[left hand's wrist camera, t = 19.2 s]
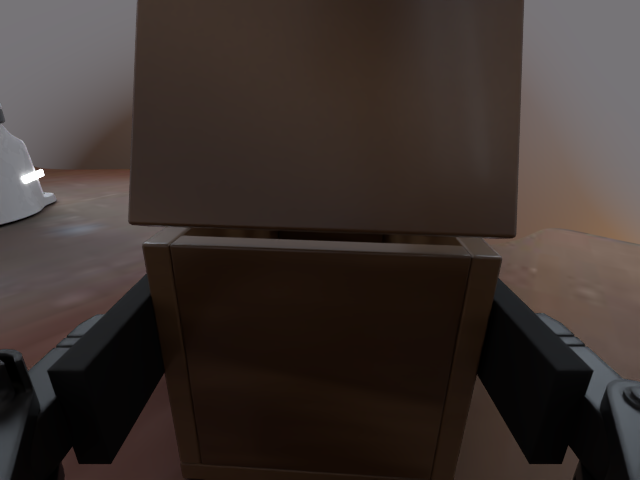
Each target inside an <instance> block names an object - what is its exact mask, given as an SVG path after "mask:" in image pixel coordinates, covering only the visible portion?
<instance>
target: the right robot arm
mask: <svg viewBox="0 0 640 480" xmlns="http://www.w3.org/2000/svg"><path fill="white" fill-rule="evenodd" d="M4 122H5V119H4V115H3V112H2V106H1V103H0V224H4V223H8V222H12V221H15V220H19V219H22V218H25V217H28V216H30V215H33V214H35V213H37V212H39V211H40V210H42V209H43V207H44V206H46V205H48V204H50V203H53V202H55V201H57V200H56V197H55V195H54V194H53V193H45V192H43V191H42V188H41V185H40V182H39V180H38V178H40V177H42V176H44V173H43V170H38V171H36V172H35V169H34V166H33V164H32V161H31V158H30V156H29V153H28V150H27V148H26V145H25V143H24V142H23V141H22V140H20V139H19V138H17V137H15V136H13V135H12V134H11V133H9V132H8V131H7V130H6V129H5V127H4V126H3V125H2V123H4Z"/></svg>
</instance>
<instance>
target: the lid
mask: <svg viewBox="0 0 640 480" xmlns="http://www.w3.org/2000/svg"><path fill="white" fill-rule="evenodd" d="M523 16H524V0H137V15H136V40H135V65H134V89H133V115H132V139H131V164H130V189H129V214H128V222H129V224H131V225H139V226H153V227H182V228H210V229H238V230H266V231H294V232H322V233H350V234H378V235H407V236H435V237H463V238H492V239H507V238H514V237H515V236H516V224H517V194H518V164H519V135H520V105H521V75H522V45H523Z"/></svg>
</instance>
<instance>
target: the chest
mask: <svg viewBox="0 0 640 480" xmlns="http://www.w3.org/2000/svg"><path fill="white" fill-rule="evenodd" d="M142 248H143V254H144V260H145V265H146V271H147V276H148V282H149V288H150V293H151V299H152V304H153V310H154V316H155V321H156V327H157V333H158V338H159V343H160V349H161V354H162V359H163V364H164V369H165V377H166V383H167V389H168V394H169V400H170V405H171V411H172V417H173V422H174V428H175V433H176V439H177V445H178V450H179V456H180V461H181V470H182V475H183V478H189V479H203V480H453V479H454V474H455V470H456V465H457V461H458V456H459V452H460V447H461V443H462V438H463V434H464V429H465V425H466V420H467V416H468V411H469V407H470V402H471V398H472V393H473V389H474V384H475V380H476V375H477V371H478V366H479V362H480V357H481V353H482V348H483V344H484V339H485V335H486V330H487V326H488V321H489V317H490V312H491V308H492V303H493V299H494V294H495V290H496V285H497V281H498V276H499V272H500V267H501V263H502V257H501V256H500V255H499V254H498V253H497V252H496V251H495V250H494V249H493V248H492V247H491V246H490V245H489V244H488V243H486V242H485V241H484V240H483V239H482V238H463V237H435V236H407V235H378V234H350V233H322V232H294V231H266V230H238V229H210V228H182V227H166V228H164V229H163V230H161V231H160V232H159V233H157V234H156V235H154V236H153V237H151V238H150V239H149V240H147V241H146V242H144V243H143V245H142Z"/></svg>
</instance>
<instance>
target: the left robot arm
mask: <svg viewBox="0 0 640 480" xmlns="http://www.w3.org/2000/svg"><path fill="white" fill-rule="evenodd" d="M164 372H165V369H164V364H163V359H162V354H161V349H160V343H159V338H158V333H157V327H156V321H155V316H154V310H153V304H152V299H151V293H150V288H149V282H148V276H147V274H146V275H145V276H144V277H143V278H142V279H141V280H140V281H139V282H138V283H136V284H135V285H134V286H133V287H132V288H131V289H130V290H129V291H128V292H127V293H126V294H125V295H124V296H123V297H122V298H121V299H120V300H119V301H118V302H117V303H116V304H115V305H114V306H113V307H112V308H111V309H110V310H109V311H108V312H107V313H106V314H97V315H95V316H94V317H92V318H90V319H88V320H86V321H85V322H83V323H81V324H79V325H78V326H77V327H76V328H75V329H74V330H73V331H72V332H71V333H70V334H68V335H67V338H64V339H63V340H62V341H61V342H60V343H59V344H57V345H56V348H53V349H52V350H51V351H50V352H49V353H48V354H46V355H45V356H44V357H43V358H42V359H41V360H40V361H39V362H38V363H37V364H36V365H34V366H33V367H32V368H31V369H30V370H29V371H28V370H27V368H26V365H25V362H24V359H23V357H22V354H21V353H20V352H18V351H16V350H9V349H2V350H0V480H64V477H65V475H64V469H63V466H62V463H61V461H62V460H63V459H64V457H65V456H66V454H67V453H68V452H69V450H70V449H71V448H72V446H73V448H74V451H75V454H76V457H77V460H78V463H79V464H111V463H112V461H113V460H114V458H115V456H116V455H117V453H118V451H119V449H120V448H121V446H122V444H123V443H124V441H125V439H126V437H127V436H128V434H129V432H130V431H131V429H132V427H133V425H134V424H135V422H136V420H137V419H138V417H139V415H140V413H141V412H142V410H143V408H144V406H145V405H146V403H147V401H148V400H149V398H150V396H151V394H152V393H153V391H154V389H155V388H156V386H157V384H158V382H159V381H160V379H161V377H162V376H163V374H164ZM477 375H478V376H479V378H480V380H481V382H482V383H483V385H484V387H485V388H486V390H487V392H488V394H489V395H490V397H491V399H492V400H493V402H494V404H495V406H496V407H497V409H498V411H499V412H500V414H501V416H502V418H503V419H504V421H505V423H506V425H507V426H508V428H509V430H510V431H511V433H512V435H513V437H514V438H515V440H516V442H517V443H518V445H519V447H520V449H521V450H522V452H523V454H524V455H525V457H526V459H527V461H528V462H529V464H562V462H563V459H564V456H565V453H566V450H567V447H568V445H569V446H570V448H571V449H572V450H573V452H574V453H575V454H576V456H577V457H578V459H579V463H578V466H577V468H576V471H575V474H574V477H573V479H572V480H640V382H638V381H633V380H627V379H622V378H621V377H620V376H619V375H618V374H617V373H616V372H615V371H614V370H613V369H611V368H610V367H609V366H608V365H607V364H606V363H605V362H604V361H603V360H602V359H600V358H599V357H598V356H597V355H596V354H595V353H594V352H593V351H592V350H590V349H589V348H588V347H585V344H584V343H583V342H582V341H581V340H579V339H578V338H577V337H574V334H573V333H572V332H571V331H569V330H568V329H567V328H566V327H565V326H564V325H563V324H562V323H560V322H558V321H557V320H555V319H553V318H551V317H549V316H548V315H546V314H544V313H534V312H533V311H532V310H531V309H530V308H529V307H528V306H527V305H526V304H525V303H524V302H523V301H522V300H521V299H520V298H518V297H517V296H516V295H515V294H514V293H513V292H512V291H511V290H510V289H509V288H508V287H507V286H506V285H505V284H504V283H503V282H502V281H501V280H500V279H499V278H498V281H497V285H496V290H495V294H494V299H493V303H492V308H491V312H490V317H489V321H488V326H487V330H486V335H485V339H484V344H483V348H482V353H481V357H480V362H479V366H478V371H477Z"/></svg>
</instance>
